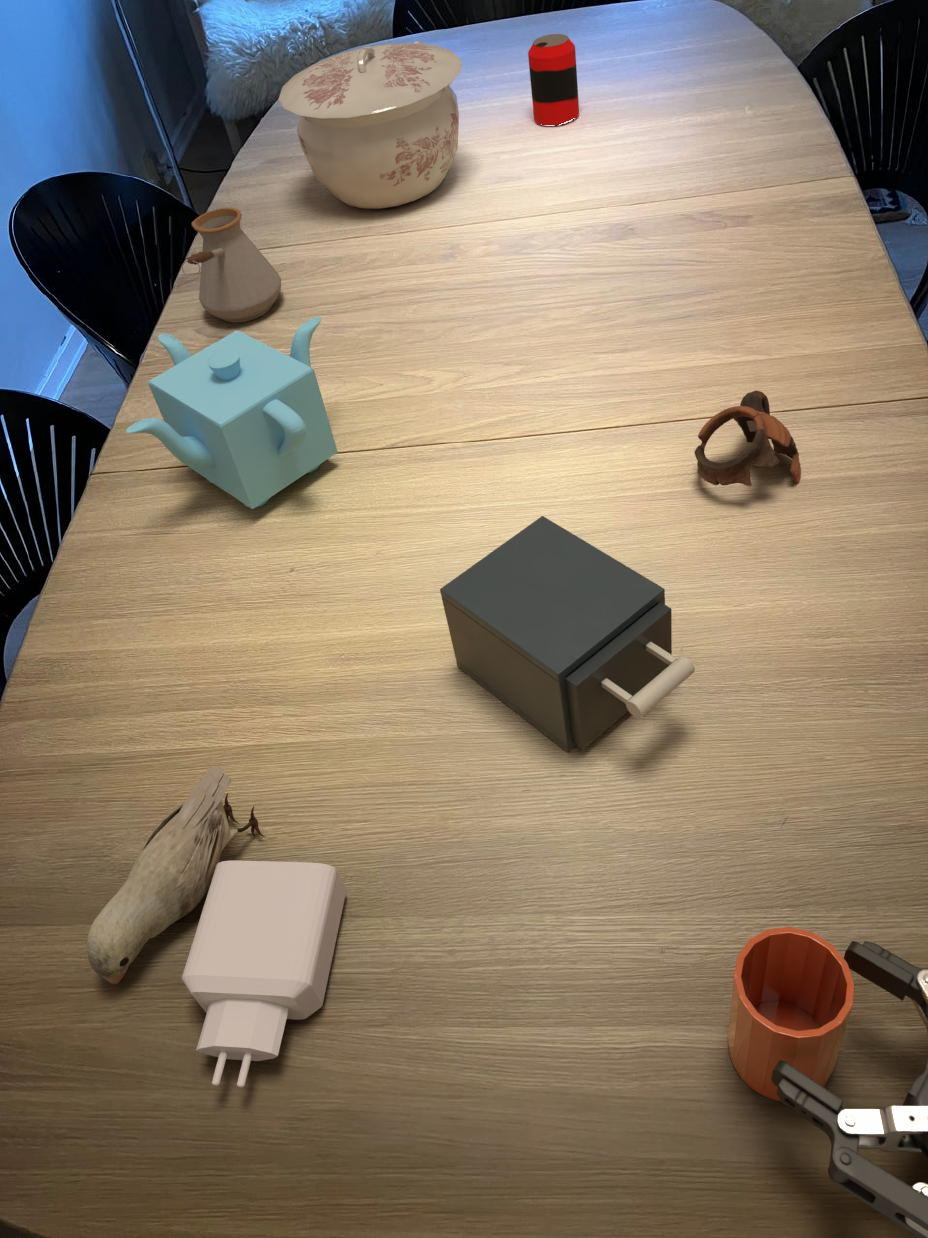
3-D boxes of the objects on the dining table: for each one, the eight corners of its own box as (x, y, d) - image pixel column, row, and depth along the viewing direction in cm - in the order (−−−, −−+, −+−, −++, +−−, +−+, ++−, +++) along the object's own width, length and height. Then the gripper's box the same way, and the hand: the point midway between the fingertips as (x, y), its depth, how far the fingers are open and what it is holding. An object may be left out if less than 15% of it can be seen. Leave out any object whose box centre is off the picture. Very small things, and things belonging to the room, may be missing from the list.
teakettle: (334, 514, 109) (299, 396, 98) (164, 532, 111) (111, 419, 100) (349, 410, 122) (319, 297, 111) (196, 428, 124) (153, 319, 113)
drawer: (712, 700, 84) (715, 635, 78) (623, 780, 80) (619, 717, 74) (565, 603, 94) (558, 538, 88) (478, 669, 90) (465, 606, 84)
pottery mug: (809, 506, 100) (773, 459, 94) (718, 529, 105) (680, 486, 100) (809, 408, 105) (775, 359, 100) (723, 435, 111) (686, 390, 105)
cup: (816, 994, 67) (833, 921, 60) (847, 1096, 63) (870, 1030, 56) (718, 1005, 68) (723, 934, 60) (741, 1107, 63) (750, 1043, 56)
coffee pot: (214, 292, 148) (178, 189, 137) (292, 281, 146) (261, 177, 136) (183, 375, 133) (140, 267, 122) (269, 365, 132) (234, 254, 121)
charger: (173, 1095, 69) (233, 891, 79) (306, 1104, 67) (349, 895, 77) (148, 1068, 65) (213, 859, 76) (286, 1078, 64) (334, 862, 74)
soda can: (524, 122, 174) (517, 44, 165) (556, 105, 177) (550, 29, 168) (557, 130, 169) (551, 51, 161) (588, 113, 172) (584, 35, 164)
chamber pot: (339, 249, 151) (303, 102, 136) (285, 186, 170) (248, 51, 155) (510, 190, 156) (493, 42, 142) (440, 136, 175) (418, 0, 160)
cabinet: (665, 670, 88) (665, 588, 81) (567, 753, 83) (558, 674, 76) (552, 595, 96) (542, 515, 89) (457, 667, 91) (439, 588, 84)
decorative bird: (86, 972, 76) (41, 923, 71) (226, 806, 85) (196, 751, 79) (137, 1006, 74) (95, 958, 68) (276, 831, 82) (248, 777, 77)
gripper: (1046, 1356, 50) (744, 1135, 58) (1146, 1109, 56) (861, 943, 65) (1091, 1326, 44) (751, 1087, 53) (1196, 1057, 51) (878, 883, 59)
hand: (812, 1008), depth 59 cm, fingers open, 8 cm apart
